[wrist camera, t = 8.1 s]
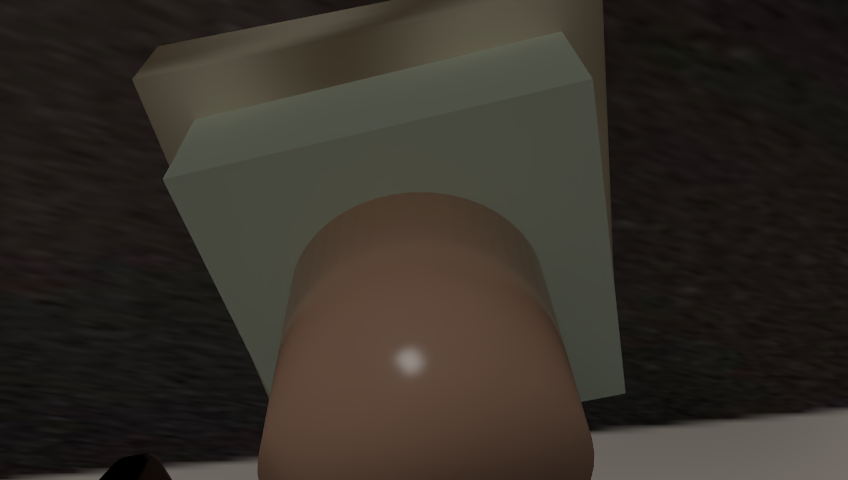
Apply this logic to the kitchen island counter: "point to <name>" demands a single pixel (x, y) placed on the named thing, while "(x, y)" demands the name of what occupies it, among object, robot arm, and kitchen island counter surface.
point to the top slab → (412, 183)
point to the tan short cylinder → (422, 353)
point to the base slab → (355, 57)
